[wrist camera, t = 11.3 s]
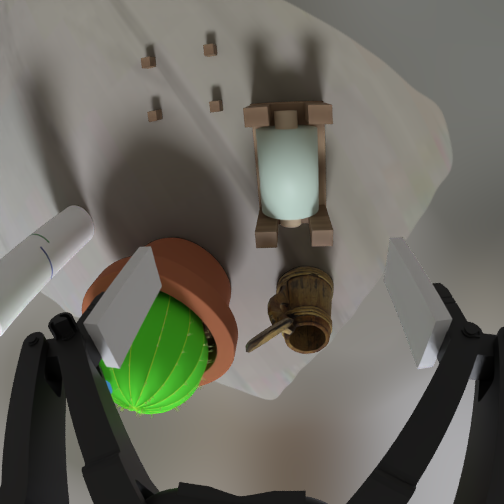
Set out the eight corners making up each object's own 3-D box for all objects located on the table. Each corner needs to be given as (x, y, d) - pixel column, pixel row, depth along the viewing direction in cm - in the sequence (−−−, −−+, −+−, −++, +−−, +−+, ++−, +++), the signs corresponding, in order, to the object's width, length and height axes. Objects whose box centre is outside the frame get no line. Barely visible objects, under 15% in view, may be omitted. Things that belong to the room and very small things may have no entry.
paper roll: (258, 110, 36) (249, 115, 30) (314, 108, 35) (318, 112, 29) (266, 213, 43) (259, 235, 37) (317, 212, 42) (319, 235, 36)
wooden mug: (280, 237, 46) (276, 321, 30) (344, 287, 49) (362, 375, 33) (243, 275, 49) (224, 363, 34) (306, 318, 53) (309, 406, 37)
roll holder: (251, 103, 37) (242, 107, 29) (322, 100, 35) (332, 103, 28) (261, 218, 44) (255, 248, 37) (324, 216, 43) (333, 246, 35)
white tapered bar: (79, 249, 50) (-6, 341, 29) (56, 218, 48) (-39, 300, 26) (101, 230, 48) (8, 329, 26) (77, 197, 45) (-29, 281, 24)
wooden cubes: (147, 59, 34) (140, 58, 32) (216, 45, 33) (212, 43, 31) (154, 120, 39) (148, 122, 37) (223, 110, 37) (219, 111, 36)
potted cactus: (271, 299, 51) (258, 437, 30) (180, 345, 59) (141, 455, 38) (181, 195, 44) (92, 305, 22) (99, 266, 52) (22, 366, 30)
